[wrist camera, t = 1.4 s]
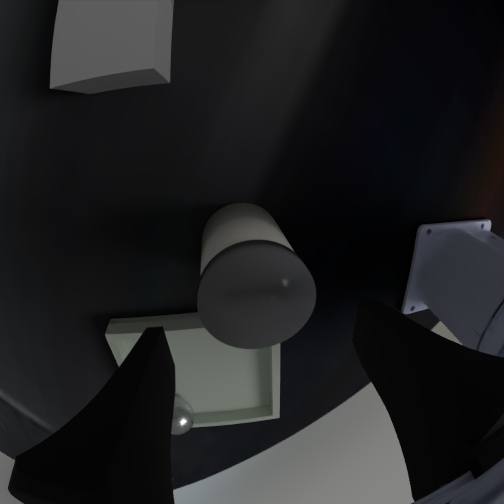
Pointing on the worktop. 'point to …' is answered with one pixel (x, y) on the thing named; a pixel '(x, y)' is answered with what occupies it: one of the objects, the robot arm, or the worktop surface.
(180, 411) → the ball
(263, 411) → the tray
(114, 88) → the block
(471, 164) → the worktop surface
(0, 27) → the worktop surface
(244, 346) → the cylinder
